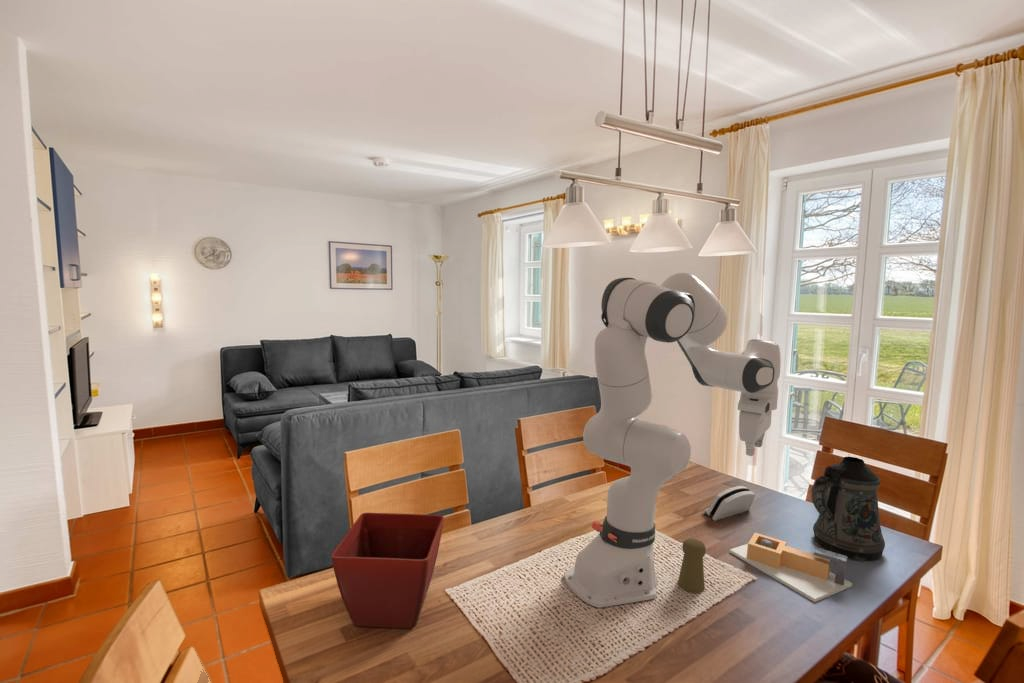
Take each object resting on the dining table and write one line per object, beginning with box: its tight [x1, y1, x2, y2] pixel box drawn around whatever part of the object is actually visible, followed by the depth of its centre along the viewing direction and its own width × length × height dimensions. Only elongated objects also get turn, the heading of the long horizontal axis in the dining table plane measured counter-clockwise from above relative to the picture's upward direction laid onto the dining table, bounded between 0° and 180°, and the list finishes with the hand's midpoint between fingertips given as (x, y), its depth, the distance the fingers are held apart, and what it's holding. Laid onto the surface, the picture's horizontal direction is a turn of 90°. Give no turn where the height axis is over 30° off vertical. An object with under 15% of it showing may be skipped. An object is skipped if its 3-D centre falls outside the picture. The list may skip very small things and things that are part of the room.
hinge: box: [702, 485, 756, 522], centre depth 155 cm, size 17×5×10 cm, turn 120°
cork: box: [677, 538, 707, 594], centre depth 117 cm, size 6×6×11 cm
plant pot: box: [331, 512, 445, 629], centre depth 105 cm, size 19×19×17 cm
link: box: [747, 532, 831, 580], centre depth 126 cm, size 18×8×4 cm, turn 52°
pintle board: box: [729, 539, 853, 603], centre depth 125 cm, size 14×23×5 cm, turn 27°
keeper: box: [813, 546, 848, 586], centre depth 120 cm, size 7×3×7 cm, turn 52°
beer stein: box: [810, 456, 886, 562], centre depth 135 cm, size 16×19×25 cm
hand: (754, 450), depth 133 cm, fingers open, 8 cm apart
